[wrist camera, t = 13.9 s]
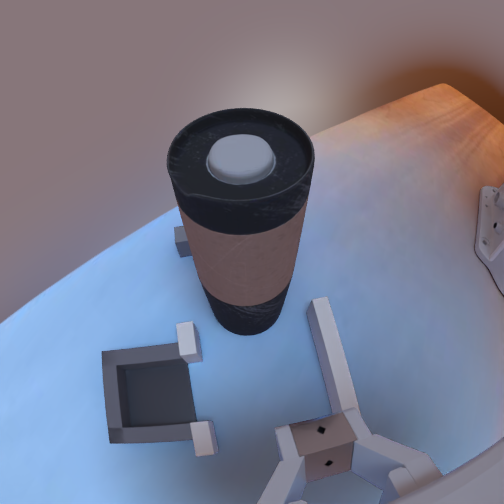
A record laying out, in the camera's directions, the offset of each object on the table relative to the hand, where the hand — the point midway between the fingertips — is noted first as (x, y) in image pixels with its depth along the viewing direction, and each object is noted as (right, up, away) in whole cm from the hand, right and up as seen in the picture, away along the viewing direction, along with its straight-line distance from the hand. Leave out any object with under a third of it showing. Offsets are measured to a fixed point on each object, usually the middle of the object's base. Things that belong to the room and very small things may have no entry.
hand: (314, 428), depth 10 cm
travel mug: (-3, +1, +22) cm, 23 cm away
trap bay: (-12, -8, +17) cm, 22 cm away
